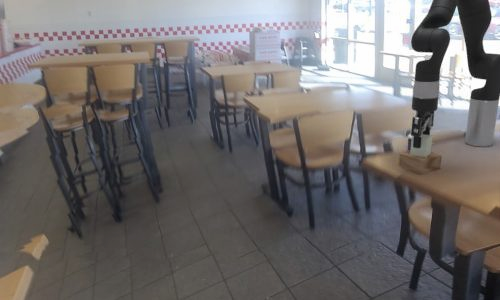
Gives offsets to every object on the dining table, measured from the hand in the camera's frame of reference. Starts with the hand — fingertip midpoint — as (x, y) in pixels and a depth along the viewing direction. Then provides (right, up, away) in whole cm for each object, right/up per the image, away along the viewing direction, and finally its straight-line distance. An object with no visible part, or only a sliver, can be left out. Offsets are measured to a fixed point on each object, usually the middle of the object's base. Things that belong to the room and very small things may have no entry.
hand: (421, 144), depth 132 cm
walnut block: (+1, -8, +3) cm, 9 cm away
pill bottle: (+4, -4, +14) cm, 15 cm away
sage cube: (0, -3, +1) cm, 3 cm away
